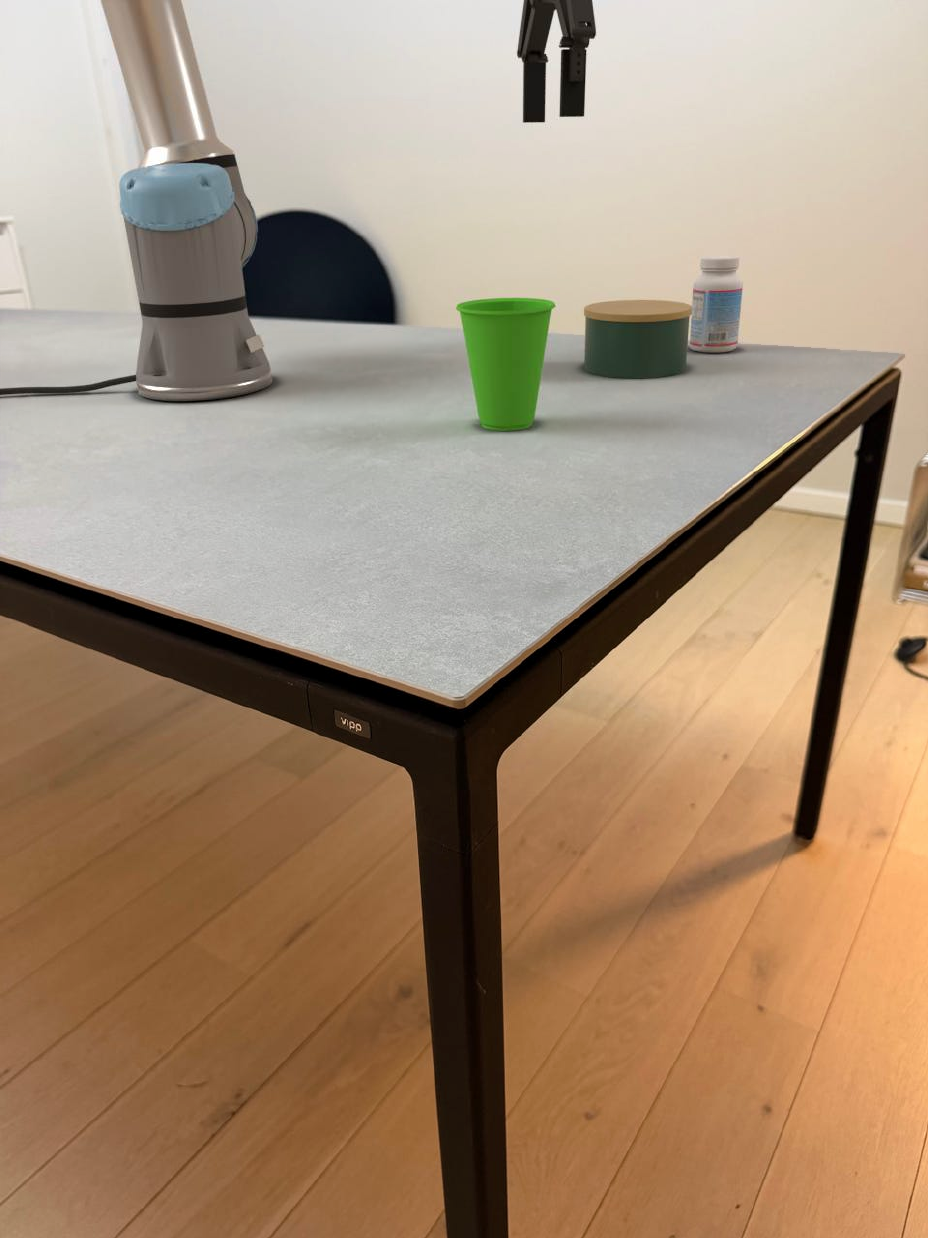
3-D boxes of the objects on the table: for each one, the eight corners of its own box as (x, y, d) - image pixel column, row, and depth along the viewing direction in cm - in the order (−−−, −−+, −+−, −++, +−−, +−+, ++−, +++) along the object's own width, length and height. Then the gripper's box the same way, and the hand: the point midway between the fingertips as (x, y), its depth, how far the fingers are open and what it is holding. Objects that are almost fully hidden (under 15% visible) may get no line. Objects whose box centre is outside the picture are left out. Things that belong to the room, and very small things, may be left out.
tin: (605, 382, 103) (608, 317, 100) (567, 362, 114) (568, 303, 111) (706, 373, 106) (711, 310, 103) (659, 354, 117) (663, 297, 114)
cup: (449, 434, 85) (444, 311, 80) (471, 411, 93) (468, 297, 88) (545, 438, 83) (546, 311, 78) (560, 413, 91) (562, 297, 86)
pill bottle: (743, 347, 120) (752, 254, 115) (727, 355, 115) (736, 259, 110) (699, 343, 123) (706, 253, 118) (681, 351, 119) (688, 258, 114)
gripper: (634, -132, 91) (622, 113, 100) (551, -73, 112) (547, 123, 122) (563, -136, 89) (557, 113, 99) (492, -76, 111) (492, 124, 120)
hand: (551, 119), depth 110 cm, fingers open, 13 cm apart
